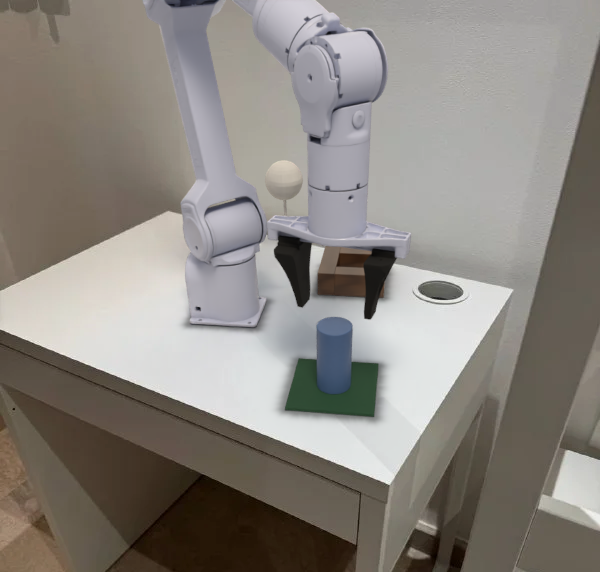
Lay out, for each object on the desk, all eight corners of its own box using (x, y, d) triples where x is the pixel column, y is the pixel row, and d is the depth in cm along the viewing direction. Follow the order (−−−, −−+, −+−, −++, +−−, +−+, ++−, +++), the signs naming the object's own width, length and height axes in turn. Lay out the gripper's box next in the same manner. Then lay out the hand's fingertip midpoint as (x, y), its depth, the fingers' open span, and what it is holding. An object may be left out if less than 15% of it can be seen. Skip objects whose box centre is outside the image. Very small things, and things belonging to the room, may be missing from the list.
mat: (285, 410, 67) (284, 407, 66) (298, 360, 74) (298, 358, 74) (374, 417, 65) (374, 414, 65) (378, 365, 73) (378, 363, 73)
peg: (311, 389, 69) (310, 331, 64) (324, 371, 72) (324, 313, 67) (343, 397, 67) (345, 338, 63) (355, 378, 70) (357, 320, 65)
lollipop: (311, 255, 99) (309, 162, 90) (280, 263, 97) (275, 169, 88) (293, 242, 103) (290, 153, 94) (263, 250, 101) (257, 159, 92)
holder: (317, 294, 88) (317, 273, 86) (325, 266, 96) (325, 245, 93) (383, 298, 87) (385, 276, 84) (386, 268, 94) (387, 248, 92)
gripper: (423, 176, 56) (410, 302, 65) (284, 162, 61) (289, 282, 69) (405, 200, 51) (393, 334, 60) (254, 184, 56) (263, 310, 64)
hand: (336, 308), depth 64 cm, fingers open, 7 cm apart
